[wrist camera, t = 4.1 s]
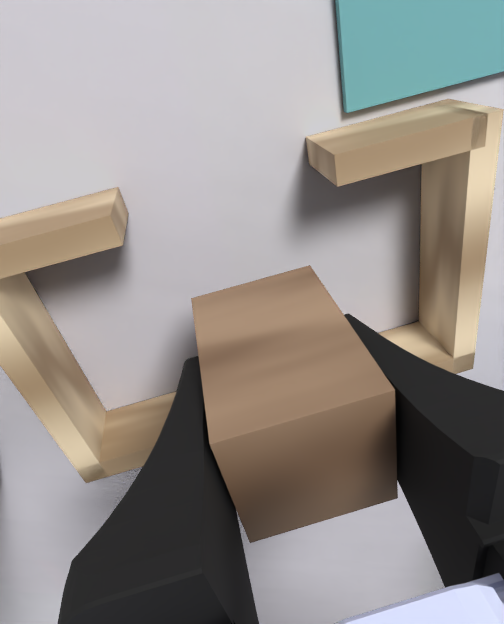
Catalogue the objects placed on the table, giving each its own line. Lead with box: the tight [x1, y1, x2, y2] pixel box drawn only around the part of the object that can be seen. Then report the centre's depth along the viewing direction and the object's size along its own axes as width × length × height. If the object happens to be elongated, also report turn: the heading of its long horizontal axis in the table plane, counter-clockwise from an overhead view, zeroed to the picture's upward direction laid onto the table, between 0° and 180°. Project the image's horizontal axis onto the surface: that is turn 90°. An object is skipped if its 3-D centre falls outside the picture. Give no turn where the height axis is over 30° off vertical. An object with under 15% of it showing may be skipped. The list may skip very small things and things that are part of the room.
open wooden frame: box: [0, 99, 503, 483], centre depth 17 cm, size 11×18×3 cm, turn 102°
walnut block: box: [191, 265, 398, 543], centre depth 12 cm, size 4×4×6 cm
